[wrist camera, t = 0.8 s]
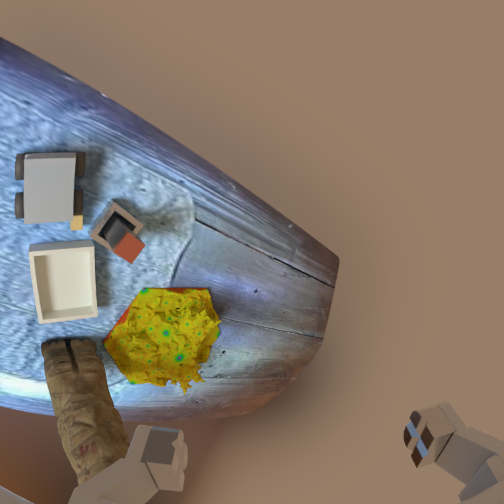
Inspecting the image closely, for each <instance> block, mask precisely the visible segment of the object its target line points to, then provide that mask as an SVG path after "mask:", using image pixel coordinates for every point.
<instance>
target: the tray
mask: <svg viewBox="0 0 504 504" xmlns="http://www.w3.org/2000/svg"><path fill="white" fill-rule="evenodd" d="M29 259H30V268H31V276H32V284H33V290H34V296H35V302H36V308H37V313H38V318H39V323H40V324H44V323H52V322H60V321H68V320H76V319H83V318H91V317H98V312H97V300H96V284H95V259H94V245H93V242H92V240H80V241H67V242H54V243H41V244H30V246H29Z"/></svg>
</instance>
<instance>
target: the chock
mask: <svg viewBox="0 0 504 504" xmlns="http://www.w3.org/2000/svg"><path fill="white" fill-rule="evenodd" d="M70 227H71V230H83V215H73V221H70Z"/></svg>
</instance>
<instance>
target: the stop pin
mask: <svg viewBox="0 0 504 504" xmlns="http://www.w3.org/2000/svg"><path fill="white" fill-rule="evenodd" d="M101 230H102V232H103V234H104V236H105V237H106V239H107V241H108V243H109V245H110V246H111V248H112V250H113V252H114V253H116V254H117V255H119V256H120V257H122V258H123V259H125V260H126V261H128V262H129V263H131V264H132V263H133V261H134V260H135V259H136V257H137V256H138V254H139V253H140V252H141V250H142V249H143V248H144V246H145V244H144V243H143V242H142V241H141V239H140V238H139V237H138V236H137V235H136V234H135V232H134V231H133V230H132V229H131V228H130V227H129V225H128V224H127V223H125V222H124V221H123V220H121V219H120V218H119V217H117V216H116V215H115V214H114V213H113V214H112V215H111V217H110V218H109V219H108V221H107V222H106V223H105V225H104V226H103V228H102V229H101Z"/></svg>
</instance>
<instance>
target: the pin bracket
mask: <svg viewBox="0 0 504 504" xmlns="http://www.w3.org/2000/svg"><path fill="white" fill-rule="evenodd" d="M114 211H116V212H118V213H119V214H120V215H121V216H123V217H124V218H125V219H127V220H128V221H129V222H131V223H132V224H131V225H130V228H131V229H132V230H133V231H134V232H135V234H136V235H137V234H138V232H139V231H140V230H141V228H142V227H143V226H144V225H143V224H142V223H141V222H140V221H139V220H138V219H136V218H135V217H134V216H132V215H131V214H130V213H129V212H127V211H126V210H125V209H123V208H122V207H121V206H120V205H118V204H117V203H116V202H115V201H113V200H112V199H111V200H110V201H109V203H108V204H107V205H106V207H105V208H104V210H103V211H102V212H101V214H100V215H99V216H98V218H97V219H96V221H95V222H94V223H93V225H92V226H91V228H90V229H89V230H88V234H89V236H90V237H91V238H92V239H94V240H95V241H97V242H98V243H100V244H101V245H103V246H104V247H106V248H107V249H109V250H110V251H112V252H113V250H112V248H111V246H110V245H109V243H108V241H107V239H106V237H104V236H103V235H101V234H100V233H99V232H100V230H101V229H102V228H103V226H104V225H105V223H106V222H107V221H108V219H109V218H110V217H111V215H112V214H113V212H114ZM113 253H114V252H113ZM115 254H116V253H115ZM116 255H117V254H116ZM118 256H119V255H118ZM119 257H120V256H119Z"/></svg>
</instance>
